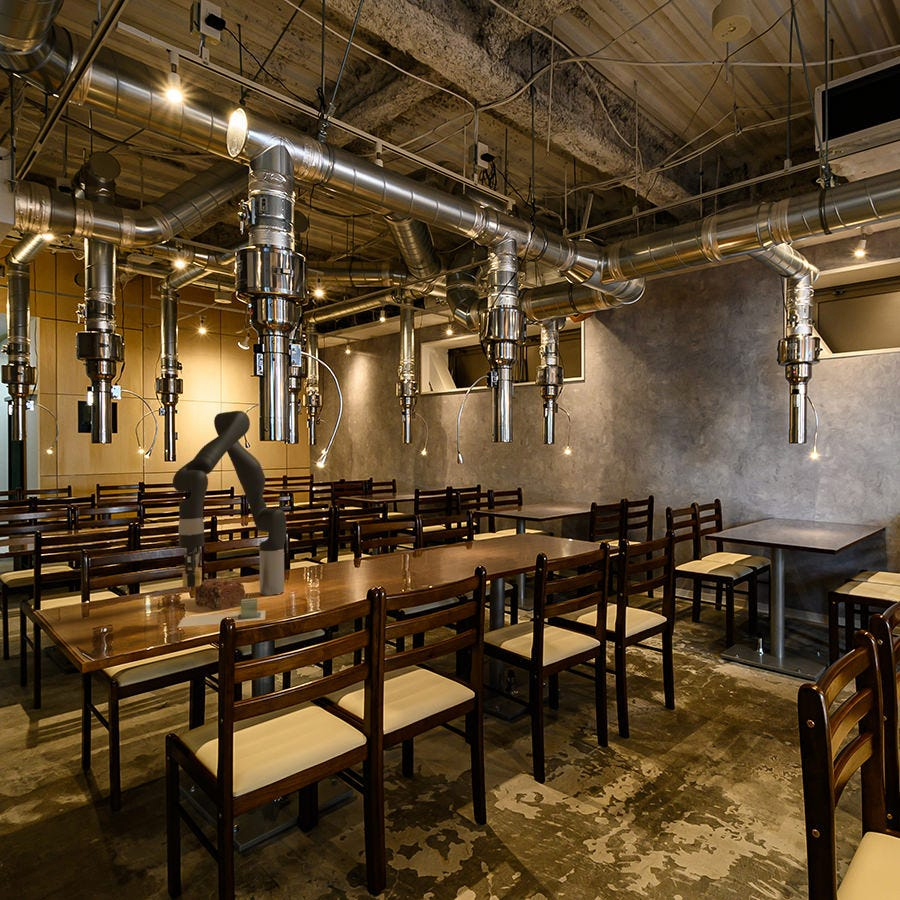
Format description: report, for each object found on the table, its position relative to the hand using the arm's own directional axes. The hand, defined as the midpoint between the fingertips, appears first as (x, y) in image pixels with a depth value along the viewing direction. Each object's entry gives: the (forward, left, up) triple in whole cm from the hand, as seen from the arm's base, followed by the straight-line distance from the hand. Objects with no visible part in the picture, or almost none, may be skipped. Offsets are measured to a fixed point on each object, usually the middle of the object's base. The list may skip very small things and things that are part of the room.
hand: (192, 584), depth 187 cm
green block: (0, +17, -12) cm, 21 cm away
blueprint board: (0, +9, -13) cm, 16 cm away
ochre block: (0, 0, 0) cm, 0 cm away
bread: (-21, +6, -13) cm, 25 cm away
